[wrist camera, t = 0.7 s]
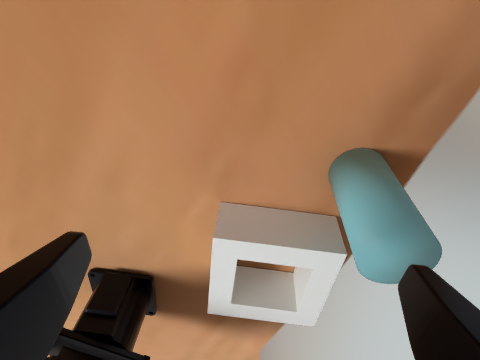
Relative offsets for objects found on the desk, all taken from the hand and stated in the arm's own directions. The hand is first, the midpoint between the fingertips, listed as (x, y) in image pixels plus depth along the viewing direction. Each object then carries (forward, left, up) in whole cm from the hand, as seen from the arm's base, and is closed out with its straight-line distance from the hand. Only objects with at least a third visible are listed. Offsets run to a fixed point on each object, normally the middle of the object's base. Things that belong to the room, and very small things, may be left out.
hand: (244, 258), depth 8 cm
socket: (-13, -3, -13) cm, 19 cm away
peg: (-4, -8, -13) cm, 16 cm away
